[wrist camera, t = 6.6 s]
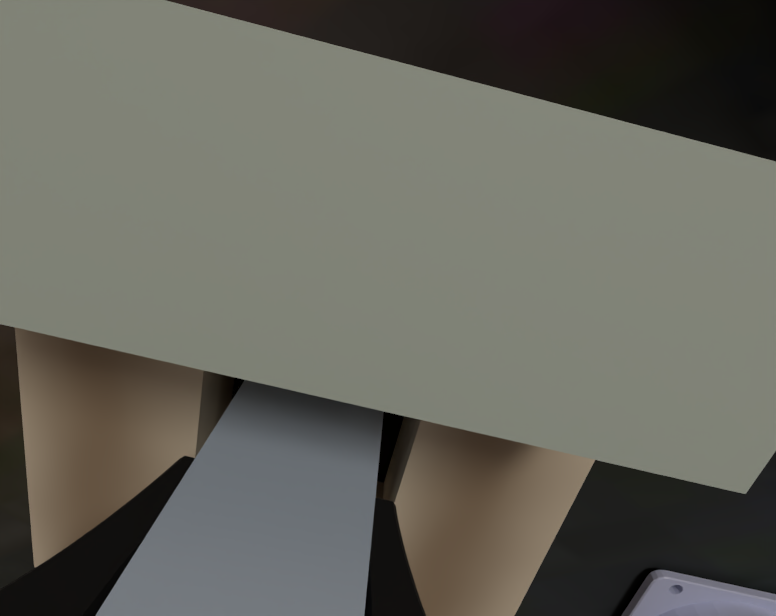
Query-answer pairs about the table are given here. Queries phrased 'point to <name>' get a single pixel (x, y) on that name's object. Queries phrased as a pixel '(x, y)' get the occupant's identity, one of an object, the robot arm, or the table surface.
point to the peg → (264, 515)
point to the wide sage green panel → (386, 237)
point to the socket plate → (200, 416)
